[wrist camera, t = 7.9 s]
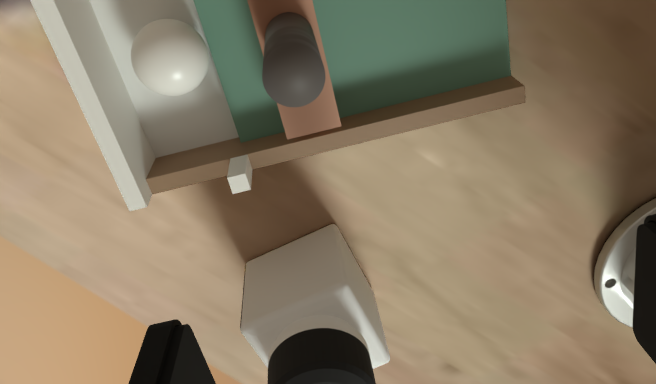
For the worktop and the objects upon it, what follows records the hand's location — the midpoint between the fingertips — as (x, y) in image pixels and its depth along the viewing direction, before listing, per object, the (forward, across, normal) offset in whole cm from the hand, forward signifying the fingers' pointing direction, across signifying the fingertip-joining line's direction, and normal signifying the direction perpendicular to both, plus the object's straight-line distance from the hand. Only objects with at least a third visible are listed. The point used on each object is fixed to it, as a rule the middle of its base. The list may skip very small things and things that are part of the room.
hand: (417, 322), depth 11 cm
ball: (+21, +9, -3) cm, 23 cm away
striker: (+22, +2, -3) cm, 22 cm away
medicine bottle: (+24, +5, +15) cm, 29 cm away
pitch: (+24, +2, -3) cm, 24 cm away
